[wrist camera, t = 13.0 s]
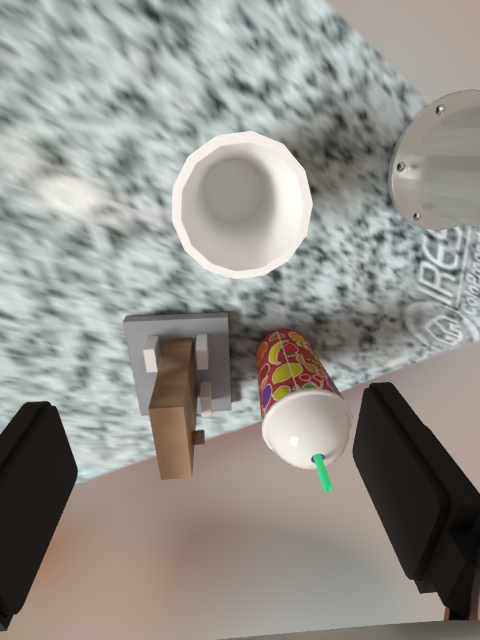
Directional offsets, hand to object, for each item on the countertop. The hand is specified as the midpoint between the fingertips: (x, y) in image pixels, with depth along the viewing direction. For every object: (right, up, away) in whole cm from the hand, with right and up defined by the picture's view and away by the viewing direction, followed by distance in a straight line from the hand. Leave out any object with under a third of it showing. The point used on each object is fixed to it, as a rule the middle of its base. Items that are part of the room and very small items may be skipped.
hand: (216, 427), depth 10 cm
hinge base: (-7, -2, +32) cm, 33 cm away
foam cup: (0, +17, +24) cm, 29 cm away
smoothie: (+6, 0, +33) cm, 33 cm away
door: (-6, -3, +31) cm, 32 cm away
